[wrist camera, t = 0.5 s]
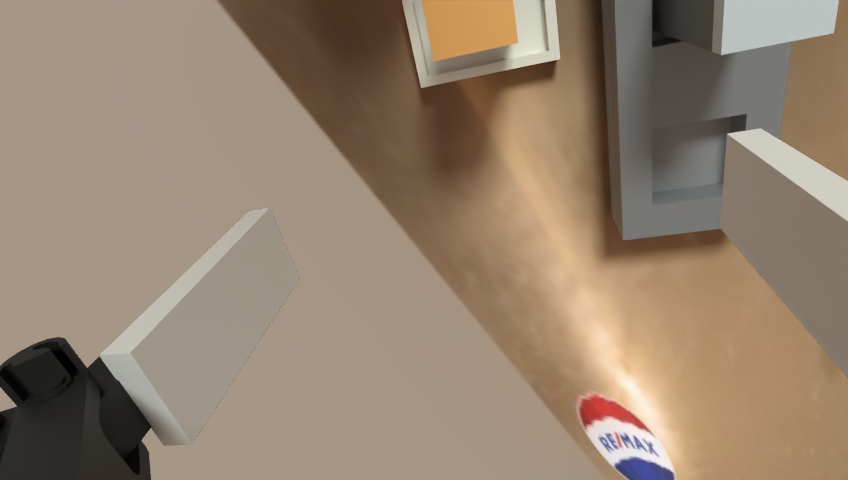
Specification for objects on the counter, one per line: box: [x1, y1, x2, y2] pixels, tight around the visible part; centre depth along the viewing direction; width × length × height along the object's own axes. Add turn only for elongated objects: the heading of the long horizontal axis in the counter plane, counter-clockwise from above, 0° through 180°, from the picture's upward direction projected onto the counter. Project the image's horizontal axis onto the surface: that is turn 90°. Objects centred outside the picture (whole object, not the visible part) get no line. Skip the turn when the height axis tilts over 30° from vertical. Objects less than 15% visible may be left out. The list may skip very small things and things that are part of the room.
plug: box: [421, 0, 518, 61], centre depth 26 cm, size 4×4×10 cm
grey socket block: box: [601, 0, 792, 240], centre depth 29 cm, size 20×9×4 cm, turn 13°
